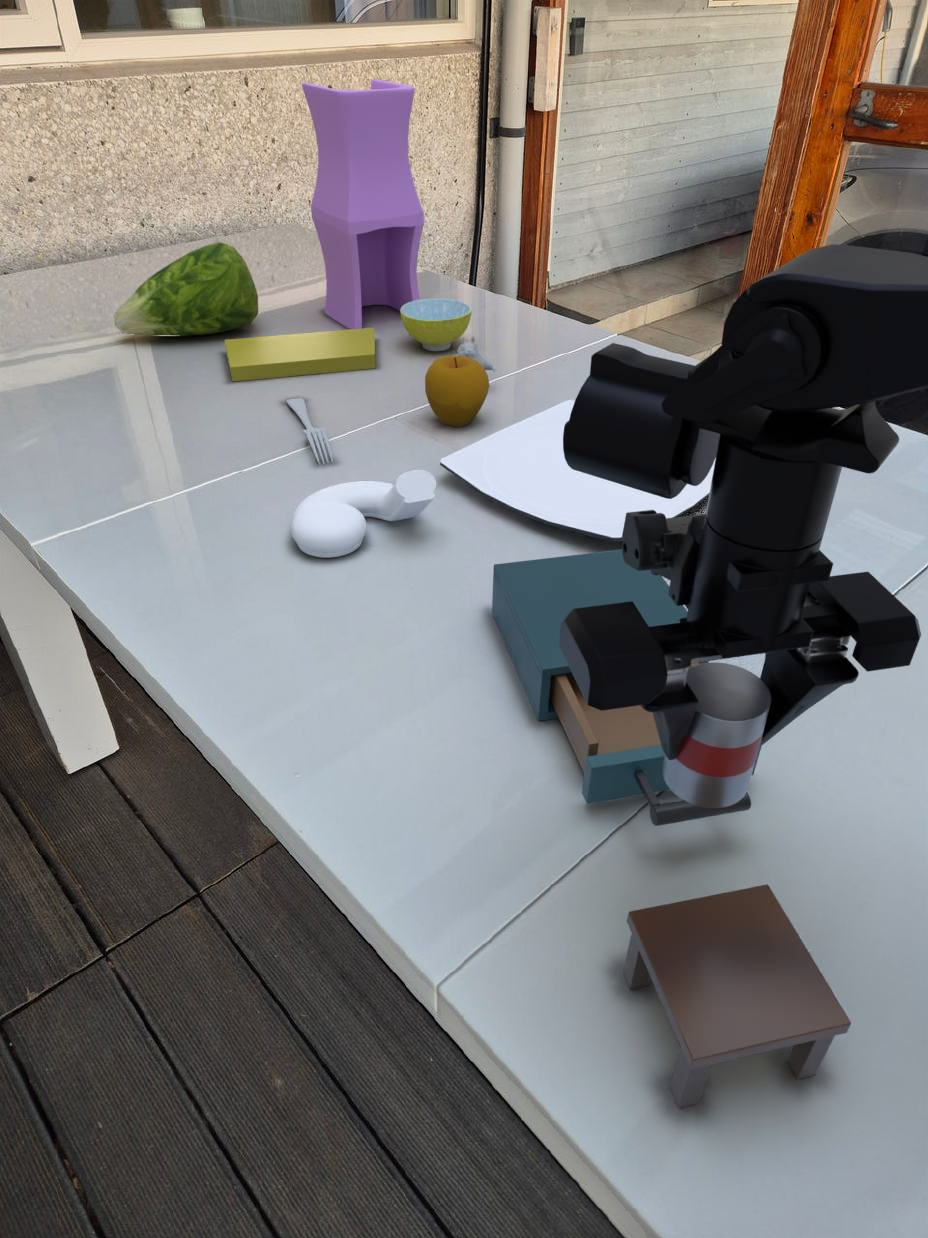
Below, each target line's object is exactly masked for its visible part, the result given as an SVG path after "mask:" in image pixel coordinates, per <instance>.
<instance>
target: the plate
mask: <svg viewBox="0 0 928 1238" xmlns="http://www.w3.org/2000/svg"><path fill="white" fill-rule="evenodd" d="M574 403H575V399H567V400H564V401H562V402H560V403H558V404H555V405H553V406H552V407H549V408H547V409H545V410H542V411H540V412H539V413H536V414H534V415H531V416H529V417H527V418H525V419H522V420H520V421H518V422H516V423H513V424H511V425H509V426H507V427H505V428H502V429H500V430H498V431H496V432H494V433H492V434H489V435H488V436H486V437H483V438H481V439H480V440H478V441H475V442H474V443H471V444H469V445H467V446H465V447H463V448H460V449H459V450H456V451H454V452H452V453H450V454H448V455H446V456H445V457H442V458H439V466H441V467H442V468H444V469H445V470H446V471H448V472H449V473H451V474H452V475H453V476H455V477H457V479H459V480H461V482H463V483H465V484H466V485H468V486H469V487H471V488H472V489H473V490H475V491H476V492H478V493H479V494H481V495H482V496H484V497H485V498H487V499H489V500H491V501H493V502H495V503H497V504H499V505H500V506H503V507H505V508H507V509H509V510H511V511H513V512H514V513H517V514H520V515H522V516H525V517H527V518H529V519H532V520H534V521H538V522H539V523H542V524H544V525H547V526H549V527H553V528H556V529H560V530H564V531H568V532H572V533H575V534H579V535H581V536H582V535H583V536H586V537H590V538H593V539H594V538H595V539H598V540H602V541H605V542H609V543H618V542H622V533H623V528H624V523H625V517H626V513H627V512H637V511H646V510H654V511H656V512H657V513H662V514H664V515H665V516H666V518H674V517H681V516H683V514H686V513H687V512H689V511H691V510H692V509H694V508H695V507H696V506H698V505H699V504H700V503H702V502H703V501H704V500H706V499H707V498H709V493H710V487H711V482H712V476H713V471H714V465H715V461H714V463H713V465H712V467H711V469H710V471H709V473H708V475H707V476H706V478H705V479H704V480H703V481H702V483H701V484H699V485H698V486H692V485H689V484H687V485H686V486H685V487H684V489H683V490H682V491H681V492H680V493H679V494H678V495H677V496H676V497H674V498H672V499H667V498H663V497H660V496H657V495H653V494H650V493H647V492H644V491H641V490H637V489H634V488H631V487H628V486H624V485H621V484H618V483H615V482H612V481H608V480H605V479H602V478H599V477H595V476H592V475H589V474H586V473H582V472H579V471H576V470H573V469H572V468H570V467H569V466H568V464H567V462H566V460H565V457H564V451H563V433H564V426H565V424H566V422H567V421H569V419H570V415H571V411H572V408H573V405H574ZM715 460H716V458H715Z"/></svg>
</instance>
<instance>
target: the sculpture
mask: <svg viewBox="0 0 928 1238" xmlns="http://www.w3.org/2000/svg"><path fill="white" fill-rule="evenodd" d="M436 487H437V480H436V478H435V477H434V475H433V474H432V473H431V472H429V471H427V470H424V469H413V470H408V471H405V472H403V473H401V474H400V475H399V476H398V477H397V478H396V480H395V482H394V483H390V482H384V481H375V480H361V481H349V482H343V483H338V484H334V485H331V486H327V487H324V488H322V489H320V490H317V491H315V492H313V493H312V494H310V495H308V496H307V497H305V498H304V499H303V500H302V501H301V502H300V503H299V504H298V505H297V507H296V509H295V510H294V513H293V515H292V519H291V523H290V535H291V537H292V539H293V540H294V542H296V544H297V547H298V548H299V549H300V550H301V551H302V552H303V553H305V554H306V555H309V556H312V557H317V558H323V559H324V558H325V559H329V558H338V557H342V556H343V557H344V556H345V555H348V554H350V553H353V552H355V551H356V550H358V548H359V547H360V546H361V544H362V543H363V539H364V537H365V535H366V532H367V529H368V528H367V527H368V526H367V521H366V518H377V519H380V520H384V521H386V522H395V521H400V520H406V519H411V518H415V517H417V516H419V515H420V514H421V513H422V512H424V511H425V509H426V508H427V507H428V506H429V505H430V504H431V502H432V501H433V500H434V499H435V497H436V494H435V491H436Z"/></svg>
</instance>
